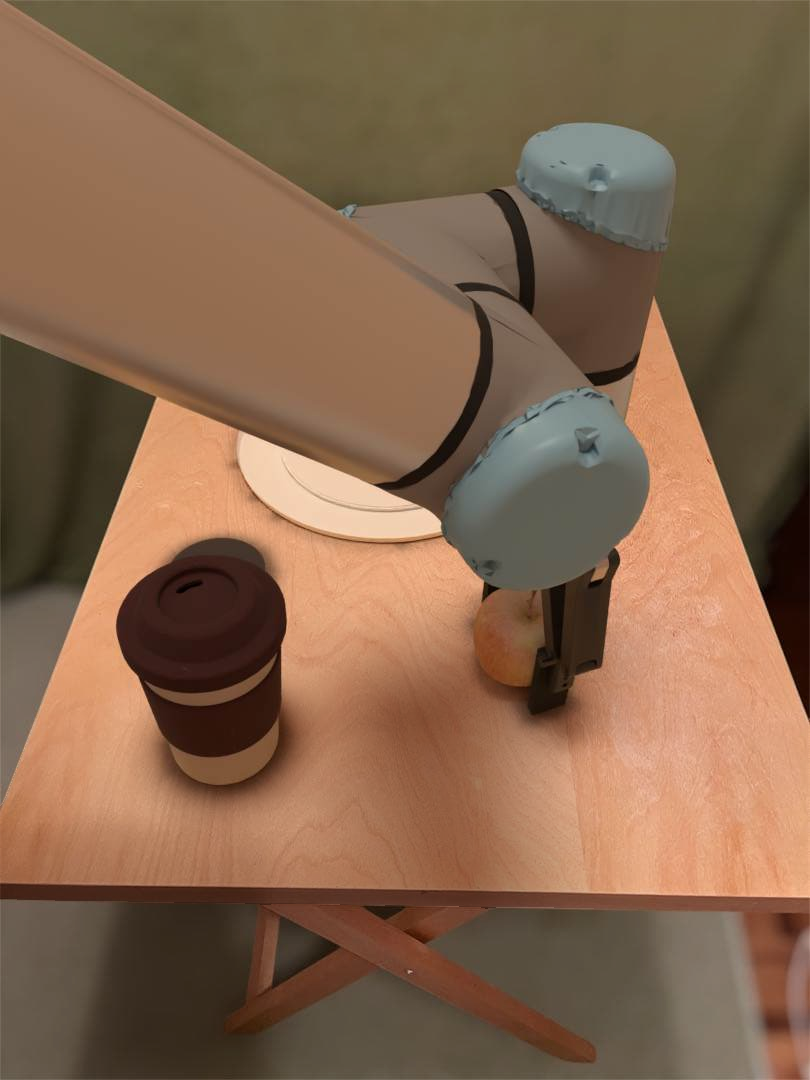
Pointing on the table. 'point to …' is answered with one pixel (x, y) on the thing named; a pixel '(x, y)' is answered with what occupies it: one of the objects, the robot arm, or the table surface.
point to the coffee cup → (209, 661)
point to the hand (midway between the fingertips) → (520, 663)
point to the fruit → (509, 635)
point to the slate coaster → (224, 550)
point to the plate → (329, 497)
